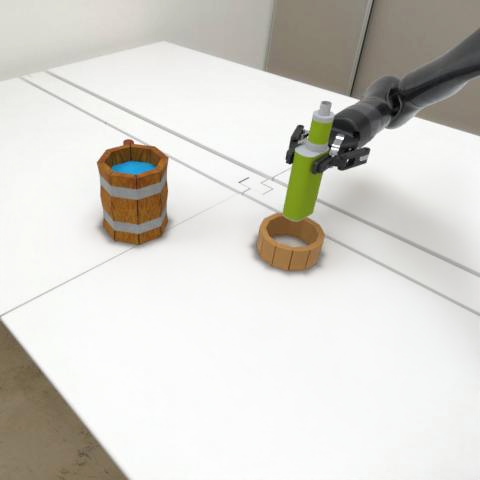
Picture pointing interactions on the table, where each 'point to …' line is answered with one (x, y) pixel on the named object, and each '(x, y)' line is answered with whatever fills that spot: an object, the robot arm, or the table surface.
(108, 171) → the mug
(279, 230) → the wooden ring
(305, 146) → the vape
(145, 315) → the table surface
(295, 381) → the table surface
